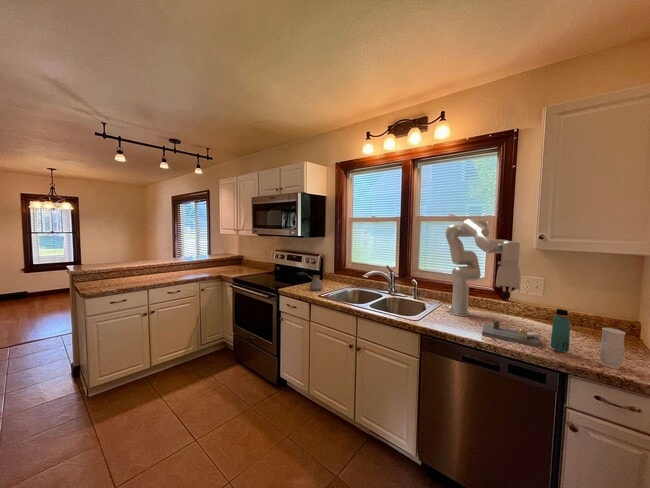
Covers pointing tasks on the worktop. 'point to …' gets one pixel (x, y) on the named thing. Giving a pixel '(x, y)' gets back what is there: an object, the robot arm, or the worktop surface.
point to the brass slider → (522, 333)
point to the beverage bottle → (561, 331)
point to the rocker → (532, 334)
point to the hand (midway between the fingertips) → (506, 298)
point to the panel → (509, 335)
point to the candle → (612, 348)
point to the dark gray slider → (496, 324)
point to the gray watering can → (315, 283)
